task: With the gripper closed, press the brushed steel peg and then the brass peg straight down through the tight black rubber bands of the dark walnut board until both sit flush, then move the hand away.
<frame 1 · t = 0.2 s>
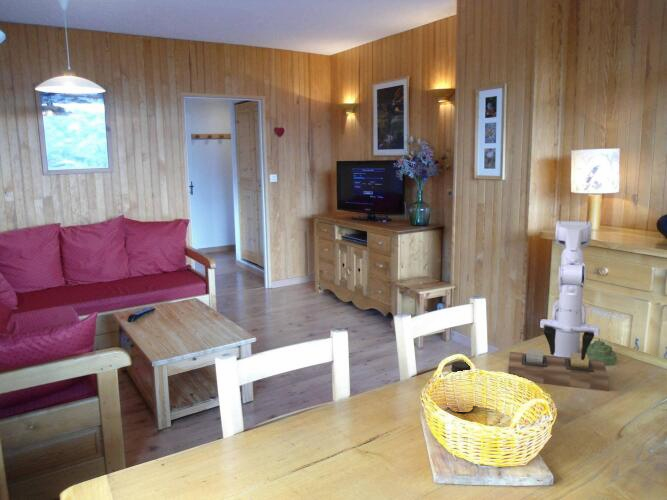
hand: (567, 355, 143), 10 cm above the table, tool pointing down, fingers open, 7 cm apart
brass peg: (578, 363, 150), point 5 cm above the table, slide at 2.5 cm
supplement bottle: (460, 408, 137), on the table
steel peg: (534, 358, 155), point 5 cm above the table, slide at 2.5 cm
decorative artifact: (597, 360, 165), on the table
walnut board: (555, 376, 153), on the table
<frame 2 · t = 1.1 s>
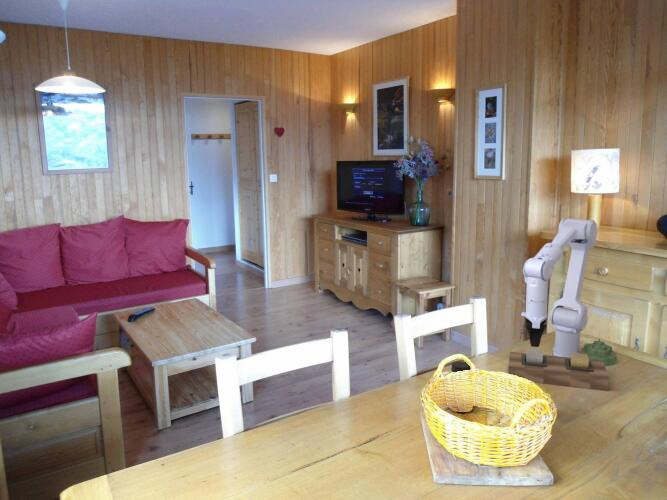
hand: (534, 344, 154), 9 cm above the table, tool pointing down, fingers open, 3 cm apart
nothing on the table moved.
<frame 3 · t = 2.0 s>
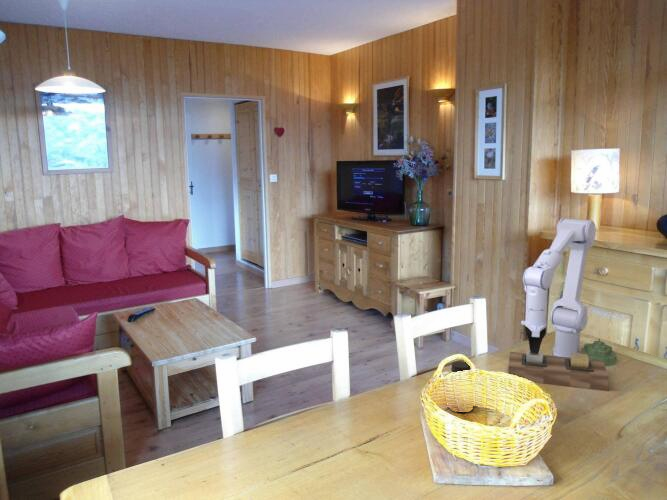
hand: (534, 352, 154), 7 cm above the table, tool pointing down, fingers closed, pressing on steel peg
steel peg: (534, 359, 155), point 5 cm above the table, slide at 2.4 cm, touching gripper
everything else where it was.
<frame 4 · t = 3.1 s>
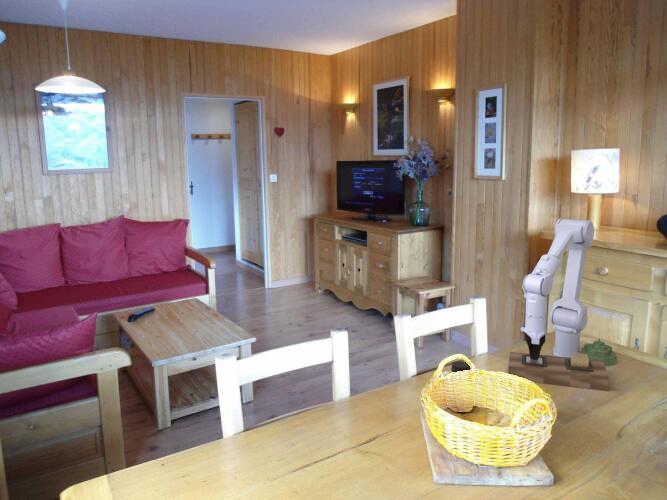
hand: (534, 359, 155), 5 cm above the table, tool pointing down, fingers closed
steel peg: (533, 366, 155), point 2 cm above the table, slide at 0.0 cm
everything else where it was.
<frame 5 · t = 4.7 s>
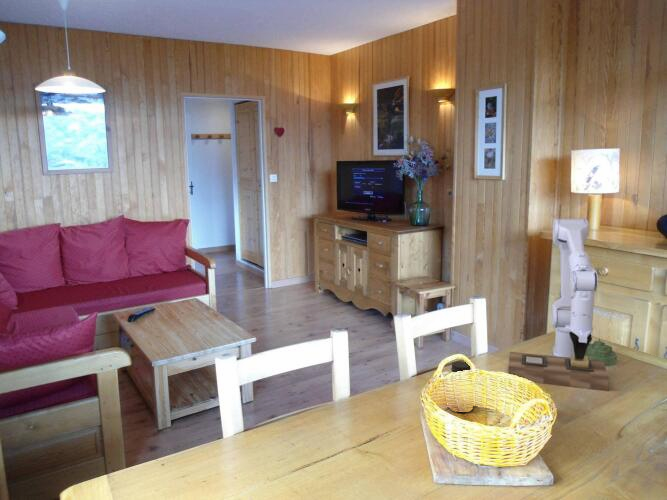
hand: (579, 358, 150), 6 cm above the table, tool pointing down, fingers closed, pressing on brass peg
brass peg: (578, 364, 150), point 4 cm above the table, slide at 1.9 cm, touching gripper
everything else where it was.
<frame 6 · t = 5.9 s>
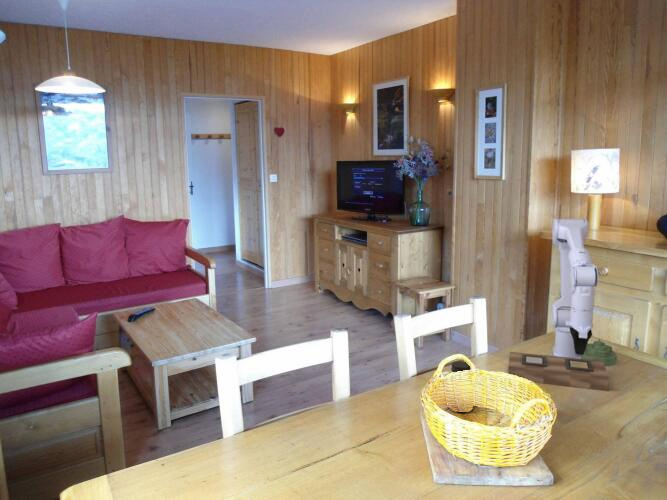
hand: (579, 353, 150), 8 cm above the table, tool pointing down, fingers closed
brass peg: (578, 371, 151), point 2 cm above the table, slide at 0.0 cm
everything else where it was.
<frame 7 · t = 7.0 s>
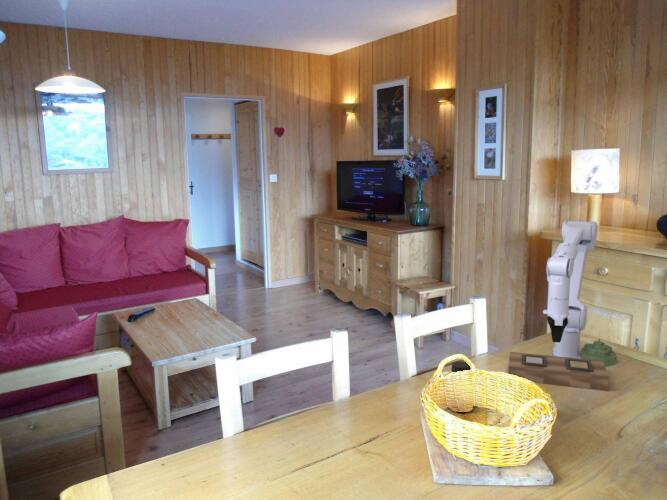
hand: (556, 341, 155), 9 cm above the table, tool pointing down, fingers closed
nothing on the table moved.
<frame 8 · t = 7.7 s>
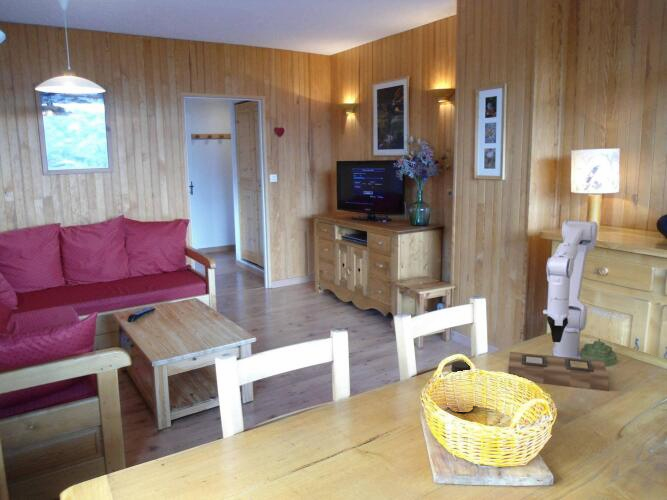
hand: (556, 341, 155), 9 cm above the table, tool pointing down, fingers closed
nothing on the table moved.
at the end: steel peg slide at 0.0 cm; brass peg slide at 0.0 cm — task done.
